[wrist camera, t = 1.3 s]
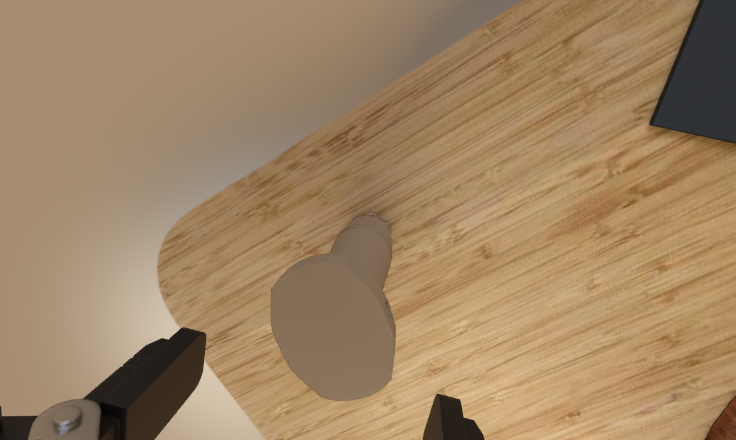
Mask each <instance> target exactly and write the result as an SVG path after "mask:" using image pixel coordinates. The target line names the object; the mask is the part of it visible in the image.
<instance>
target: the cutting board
mask: <svg viewBox="0 0 736 440" xmlns="http://www.w3.org/2000/svg"><path fill="white" fill-rule="evenodd" d="M706 440H736V397H735V398H734V399H733V400H732V401H731V402H730V404H729V405H728V406H727V408H726V409H725V410H724V411H723V413H722V414H721V415H720V417H719V418H718V419H717V421H716V422H715V423H714V425H713V427H712V428H711V430H710V432H709V434H708V436H707V438H706Z"/></svg>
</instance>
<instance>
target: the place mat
mask: <svg viewBox="0 0 736 440" xmlns="http://www.w3.org/2000/svg"><path fill="white" fill-rule="evenodd" d="M650 125H652V126H657V127H662V128H666V129H671V130H676V131H680V132H685V133H690V134H694V135H699V136H704V137H708V138H713V139H718V140H723V141H727V142H732V143H736V0H700V3H699V5H698V8H697V10H696V12H695V15H694V17H693V20H692V22H691V25H690V27H689V29H688V32H687V34H686V37H685V39H684V42H683V44H682V47H681V49H680V51H679V54H678V56H677V59H676V61H675V64H674V66H673V68H672V71H671V73H670V76H669V78H668V81H667V83H666V86H665V88H664V90H663V93H662V95H661V98H660V100H659V103H658V105H657V107H656V110H655V112H654V115H653V117H652V120H651V122H650Z"/></svg>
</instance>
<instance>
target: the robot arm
mask: <svg viewBox="0 0 736 440" xmlns="http://www.w3.org/2000/svg"><path fill="white" fill-rule="evenodd" d="M205 346H206V334H205V333H204V332H200V331H196V330H193V329H189V328H185V327H183V328H181V329H180V330H179V331H178V332H177V333H175V334H174V335H173V336H172V337H171V338H170V339H169V340H167V339H163V338H161V339H159V340H157V341H155V342H153V343H150V344H148V345H146V346H145V347H144V348H142V349H141V350H140V351H139V352H138V353H136V354H135V355H134V356H133V358H130V359H129V360H128V361H127V362H126V363H125V364H124V365H123V367H120V368H119V369H118V370H116V371H115V372H114V373H113V374H112V375H110V376H109V377H108V378H107V379H106V380H105V381H103V382H102V383H101V384H100V385H99V386H98V387H96V388H95V389H94V390H93V391H91V392H90V393H89V394H88V395H87V396H85V398H83V399H74V400H68V401H64V402H61V403H59V404H56V405H54V406H52V407H50V408H48V409H47V410H45V411H44V412H42V413H41V414H40V415H39V416H2V414H1V406H0V440H154V439H155V438H156V437H157V436H158V435H159V433H160V432H161V431H162V430H163V428H164V427H165V426H166V425H167V423H168V422H169V421H170V420H171V418H172V417H173V416H174V415H175V414H176V412H177V411H178V410H179V409H180V407H181V406H182V405H183V404H184V402H185V401H186V400H187V399H188V397H189V396H190V395H191V394H192V392H193V391H194V390H195V389H196V387H197V385H198V383H199V381H200V379H201V376H202V373H203V366H204V356H205ZM423 440H484V436H483V434H482V432H481V431H480V429H479V428H478V426H477V424H476V423H475V421H474V420H471V419H467V418H464V417H463V412H462V406H461V401H460V399H457V398H453V397H449V396H445V395H441V394H436V396H435V399H434V402H433V405H432V408H431V411H430V415H429V418H428V421H427V424H426V427H425V431H424V435H423Z"/></svg>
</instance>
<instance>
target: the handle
mask: <svg viewBox="0 0 736 440" xmlns="http://www.w3.org/2000/svg"><path fill="white" fill-rule="evenodd" d="M390 234H391V229H390V226H389V224H388V223H387V222H384V221H382V220H381V219H379V218H378V217H377V215H376V213H373V212H369V213H368V214H367V215H365V216H362V217H356V218H354V219H353V220H352V221H351V222H350V223H349V224H348V225H347V226H346V227H345V228H344V229H343V230H342V231H341V233H340V234H339V235H338V237H337V239H336V240H335V242H334V244H333V246H332V249H331V251H330V253H329V254H320V255H315V256H311V257H308V258H306V259H304V260H301V261H299V262H297V263H296V264H294V265H293V266H291V267H290V268H289V269H288V270H287V271H286V272H285V273H284V274H283V275H282V276H281V277H280V278H279V280H278V281H277V282H276V283H275V285H274V286H273V288H272V289H271V326H272V331H273V334H274V337H275V340H276V342H277V344H278V346H279V348H280V350H281V352H282V354H283V356H284V359H285V360H286V362H287V364H288V365H289V367H290V369H291V370H292V371H293V372H294V373H295V374H296V375H297V377H298V378H300V379H301V380H302V381H303V382H304V383H305V384H306V385H307V386H308V387H310V388H311V389H312V390H313V391H314V392H315V393H317V394H318V395H319V396H320V397H322V398H326V399H329V400H336V401H350V400H356V399H361V398H364V397H367V396H371V395H373V394H375V393H376V392H378V391H380V390H381V389H383V388H384V387H385V386H386V385H387V384H388V383H389V382H390V381H391V379H392V371H393V364H394V354H395V336H396V326H395V322H394V319H393V315H392V312H391V308H390V305H389V302H388V300H387V298H386V296H385V294H384V292H383V291H382V290H383V287H384V284H385V281H386V278H387V275H388V271H389V268H390V264H391V258H392V239H391V235H390Z"/></svg>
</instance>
